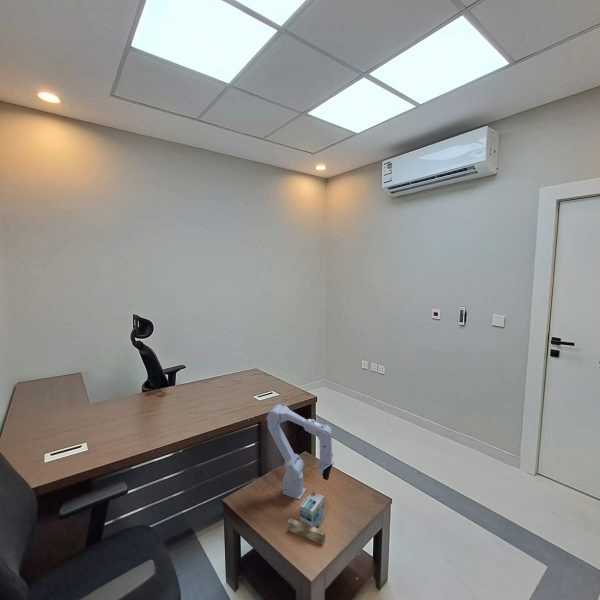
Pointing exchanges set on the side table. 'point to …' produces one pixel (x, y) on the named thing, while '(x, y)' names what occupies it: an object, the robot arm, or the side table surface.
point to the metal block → (306, 531)
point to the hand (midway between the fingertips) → (326, 478)
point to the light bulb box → (312, 510)
